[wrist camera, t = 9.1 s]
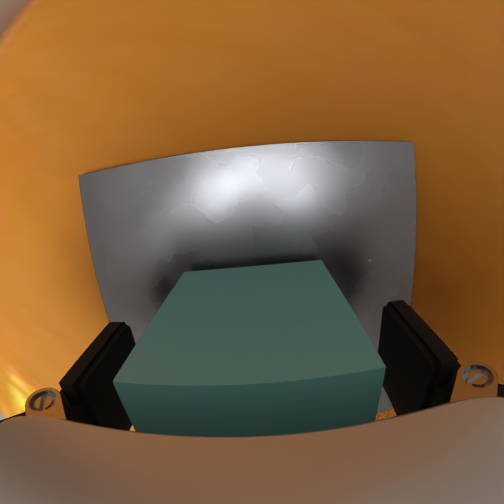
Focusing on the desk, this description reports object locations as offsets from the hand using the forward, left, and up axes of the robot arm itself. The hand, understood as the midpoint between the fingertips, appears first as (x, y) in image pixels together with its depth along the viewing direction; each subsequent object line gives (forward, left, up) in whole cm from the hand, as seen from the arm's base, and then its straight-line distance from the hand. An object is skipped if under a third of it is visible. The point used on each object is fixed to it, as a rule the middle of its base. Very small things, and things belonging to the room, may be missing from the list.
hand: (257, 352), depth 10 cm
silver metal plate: (0, 0, -3) cm, 3 cm away
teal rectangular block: (0, 0, -2) cm, 2 cm away
